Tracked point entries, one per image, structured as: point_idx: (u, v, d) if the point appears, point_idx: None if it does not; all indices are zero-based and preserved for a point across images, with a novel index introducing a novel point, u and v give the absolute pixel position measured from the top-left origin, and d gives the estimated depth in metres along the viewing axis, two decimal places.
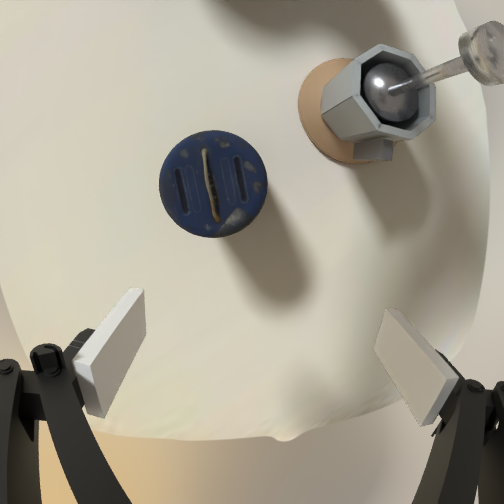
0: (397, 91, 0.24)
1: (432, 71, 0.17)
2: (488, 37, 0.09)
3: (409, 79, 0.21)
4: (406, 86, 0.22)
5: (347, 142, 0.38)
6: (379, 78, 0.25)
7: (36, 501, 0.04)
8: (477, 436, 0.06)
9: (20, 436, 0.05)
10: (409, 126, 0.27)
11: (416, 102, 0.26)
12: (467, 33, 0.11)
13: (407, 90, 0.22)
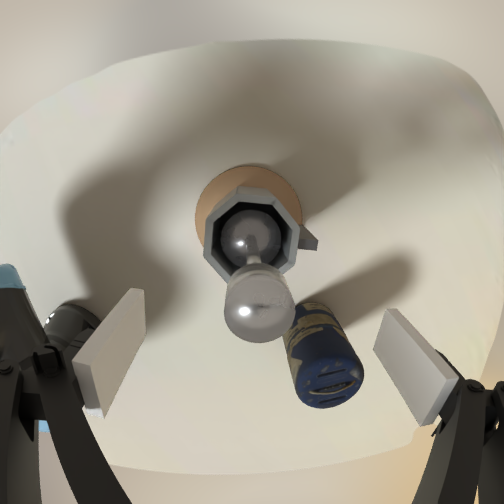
0: None
1: None
2: (257, 340, 0.17)
3: None
4: None
5: None
6: (240, 254, 0.33)
7: (36, 501, 0.04)
8: (477, 436, 0.06)
9: (20, 436, 0.05)
10: None
11: (257, 213, 0.32)
12: None
13: None
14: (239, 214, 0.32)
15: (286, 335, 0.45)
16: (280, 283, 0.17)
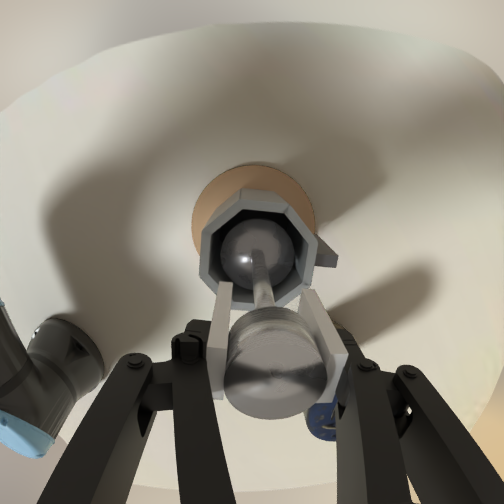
0: None
1: None
2: (271, 417, 0.11)
3: None
4: None
5: None
6: (244, 272, 0.27)
7: (123, 494, 0.06)
8: (386, 420, 0.07)
9: (132, 432, 0.07)
10: None
11: (266, 223, 0.26)
12: None
13: None
14: (243, 224, 0.26)
15: None
16: (307, 345, 0.11)
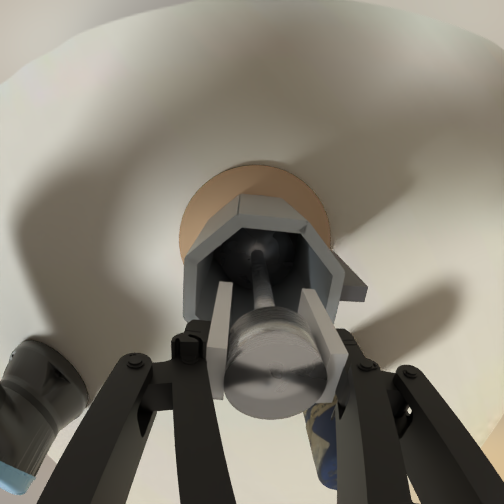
0: None
1: None
2: (271, 417, 0.11)
3: None
4: None
5: None
6: (243, 272, 0.27)
7: (123, 494, 0.06)
8: (386, 420, 0.07)
9: (132, 432, 0.07)
10: None
11: None
12: None
13: None
14: None
15: None
16: (307, 345, 0.11)
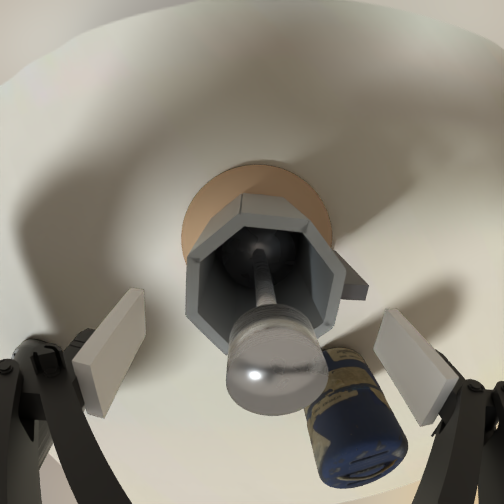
0: None
1: None
2: (273, 413, 0.11)
3: None
4: None
5: None
6: (245, 271, 0.28)
7: (36, 501, 0.04)
8: (477, 436, 0.06)
9: (20, 436, 0.05)
10: None
11: None
12: None
13: None
14: None
15: None
16: (309, 341, 0.11)
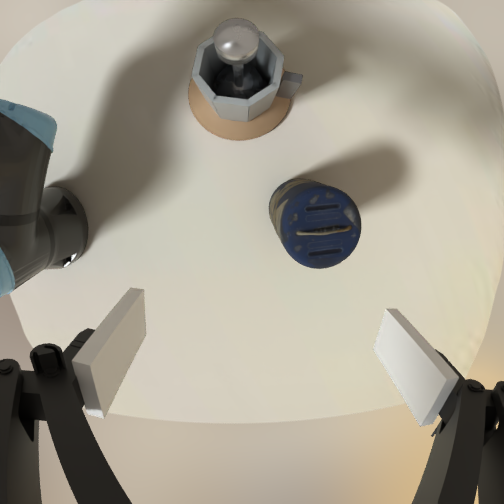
0: (241, 83, 0.36)
1: (237, 69, 0.29)
2: (233, 53, 0.21)
3: (236, 78, 0.33)
4: (241, 79, 0.34)
5: None
6: (229, 93, 0.38)
7: (36, 501, 0.04)
8: (477, 436, 0.06)
9: (20, 436, 0.05)
10: (268, 54, 0.30)
11: (245, 65, 0.37)
12: (223, 58, 0.23)
13: (243, 78, 0.34)
14: (231, 65, 0.36)
15: (273, 202, 0.42)
16: None
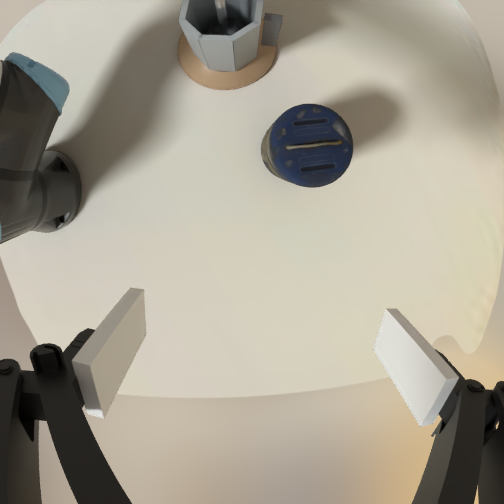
0: (227, 32, 0.34)
1: (220, 12, 0.27)
2: None
3: (221, 25, 0.31)
4: (225, 26, 0.32)
5: (258, 51, 0.40)
6: None
7: (36, 501, 0.04)
8: (477, 436, 0.06)
9: (20, 436, 0.05)
10: (249, 1, 0.28)
11: (230, 19, 0.35)
12: None
13: (227, 26, 0.32)
14: (217, 20, 0.35)
15: (264, 139, 0.40)
16: None
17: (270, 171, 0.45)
